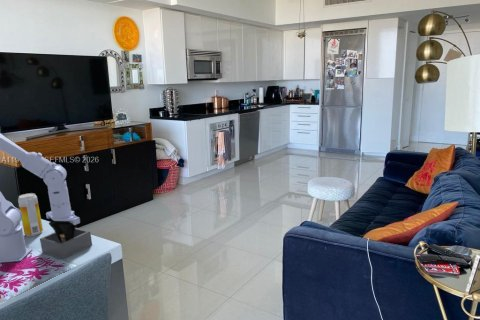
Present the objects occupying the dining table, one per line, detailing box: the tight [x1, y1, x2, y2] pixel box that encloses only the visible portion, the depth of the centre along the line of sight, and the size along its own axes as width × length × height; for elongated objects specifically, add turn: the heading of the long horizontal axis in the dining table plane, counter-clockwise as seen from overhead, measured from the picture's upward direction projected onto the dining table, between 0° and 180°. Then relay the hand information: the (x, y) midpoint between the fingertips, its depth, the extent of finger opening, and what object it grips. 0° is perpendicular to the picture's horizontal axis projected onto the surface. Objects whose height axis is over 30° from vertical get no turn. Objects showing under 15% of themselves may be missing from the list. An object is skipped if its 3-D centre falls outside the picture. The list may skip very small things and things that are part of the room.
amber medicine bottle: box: [17, 192, 44, 237], centre depth 135 cm, size 6×6×15 cm
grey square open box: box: [39, 227, 93, 260], centre depth 123 cm, size 11×11×5 cm
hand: (66, 240), depth 123 cm, fingers closed on plunger, 3 cm apart
